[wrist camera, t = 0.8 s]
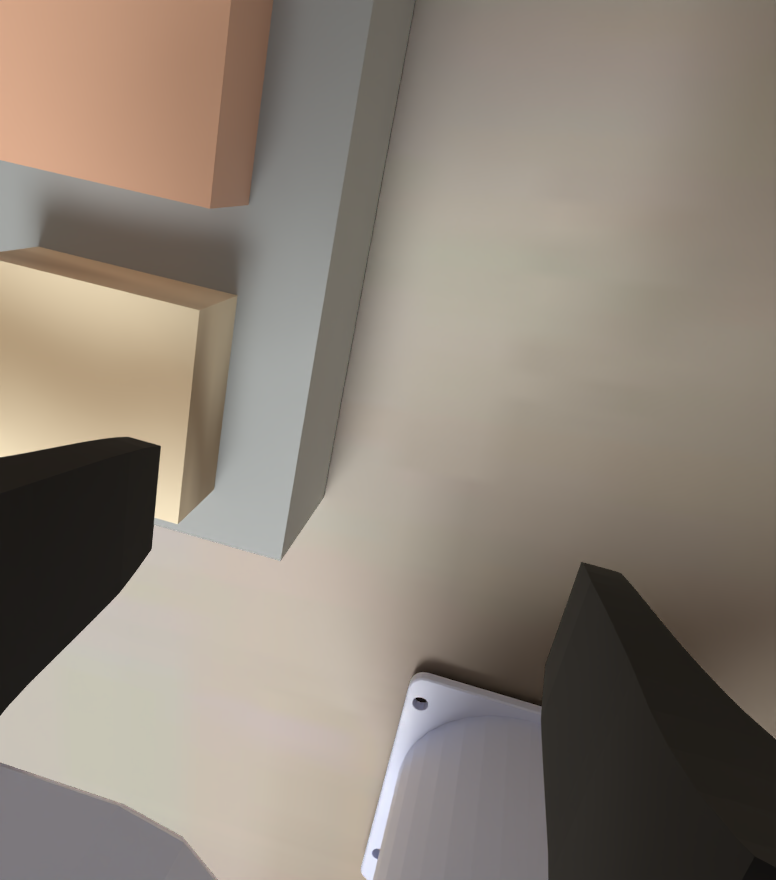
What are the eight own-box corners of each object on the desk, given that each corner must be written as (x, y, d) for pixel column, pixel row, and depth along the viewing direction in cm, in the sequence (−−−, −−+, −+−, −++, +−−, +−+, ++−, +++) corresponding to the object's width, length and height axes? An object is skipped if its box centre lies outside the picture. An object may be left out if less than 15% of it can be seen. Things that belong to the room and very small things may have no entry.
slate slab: (323, 497, 22) (280, 561, 19) (29, 417, 23) (-66, 461, 20) (437, -122, 16) (407, -208, 13) (37, -191, 18) (-96, -288, 14)
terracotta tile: (248, 204, 16) (209, 208, 14) (39, 156, 16) (-24, 154, 14) (281, -63, 14) (241, -100, 12) (44, -107, 14) (-29, -149, 13)
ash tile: (214, 489, 18) (177, 524, 17) (35, 439, 19) (-21, 468, 17) (237, 295, 17) (199, 310, 15) (38, 246, 17) (-24, 254, 15)
